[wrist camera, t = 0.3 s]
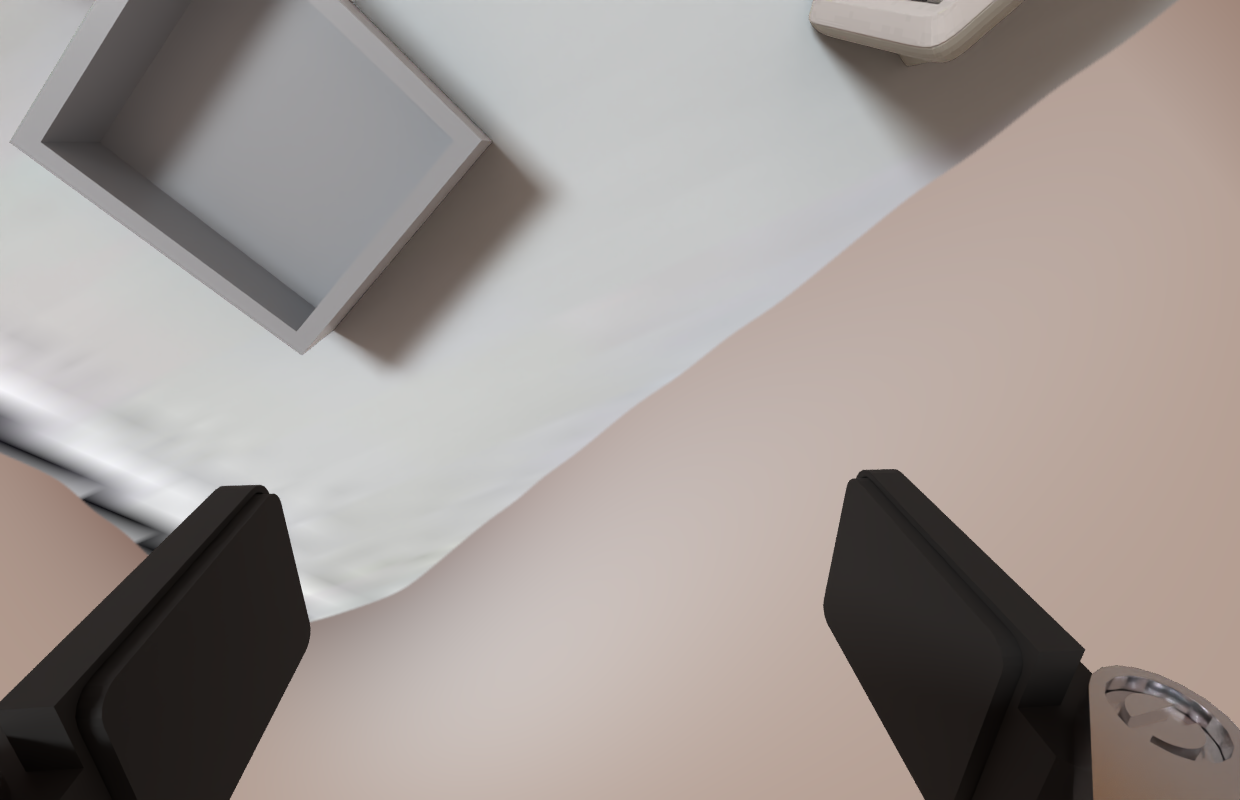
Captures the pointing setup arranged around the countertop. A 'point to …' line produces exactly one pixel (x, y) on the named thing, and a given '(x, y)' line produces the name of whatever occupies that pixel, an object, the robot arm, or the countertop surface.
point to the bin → (253, 146)
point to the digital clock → (911, 24)
